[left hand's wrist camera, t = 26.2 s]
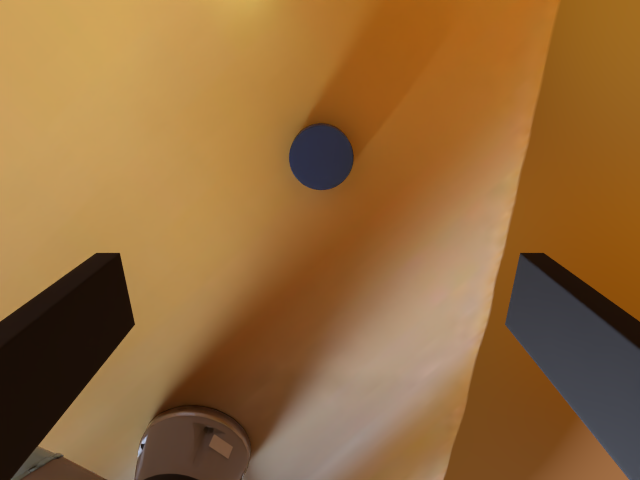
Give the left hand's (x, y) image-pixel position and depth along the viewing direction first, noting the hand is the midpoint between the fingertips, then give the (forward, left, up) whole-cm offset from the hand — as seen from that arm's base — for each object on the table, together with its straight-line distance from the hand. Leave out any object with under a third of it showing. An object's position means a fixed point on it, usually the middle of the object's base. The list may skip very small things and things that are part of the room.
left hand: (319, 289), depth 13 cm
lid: (0, 0, -26) cm, 27 cm away
